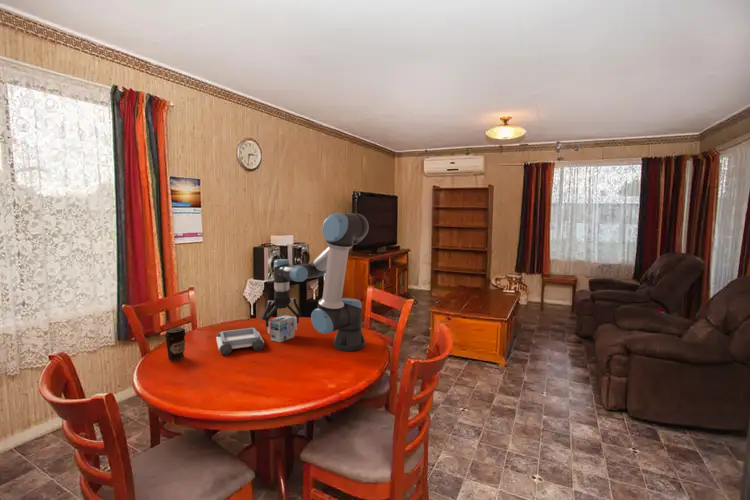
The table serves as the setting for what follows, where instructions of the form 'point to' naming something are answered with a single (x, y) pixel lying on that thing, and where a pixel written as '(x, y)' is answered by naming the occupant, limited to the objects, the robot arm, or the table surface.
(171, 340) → the coffee cup
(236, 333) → the chassis
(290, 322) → the light bulb box
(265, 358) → the table surface
